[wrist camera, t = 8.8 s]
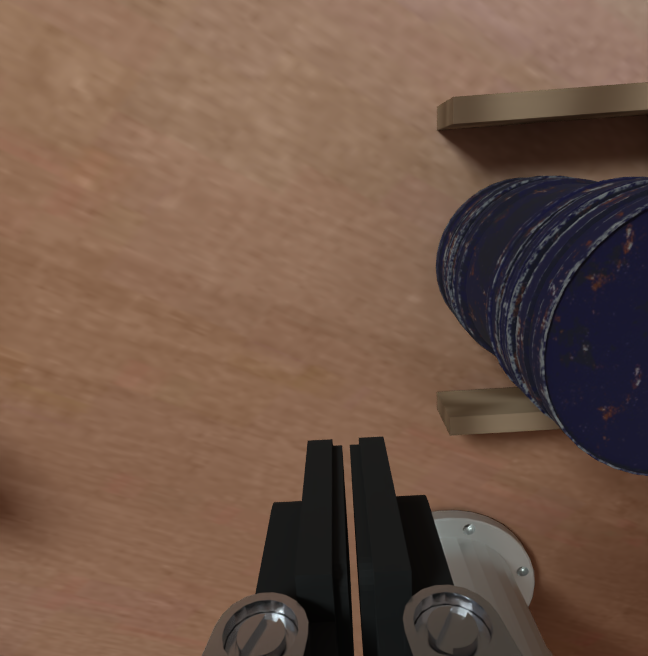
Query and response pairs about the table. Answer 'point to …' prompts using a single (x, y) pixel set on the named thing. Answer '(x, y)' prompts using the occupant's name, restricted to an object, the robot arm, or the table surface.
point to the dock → (507, 109)
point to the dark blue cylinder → (561, 301)
